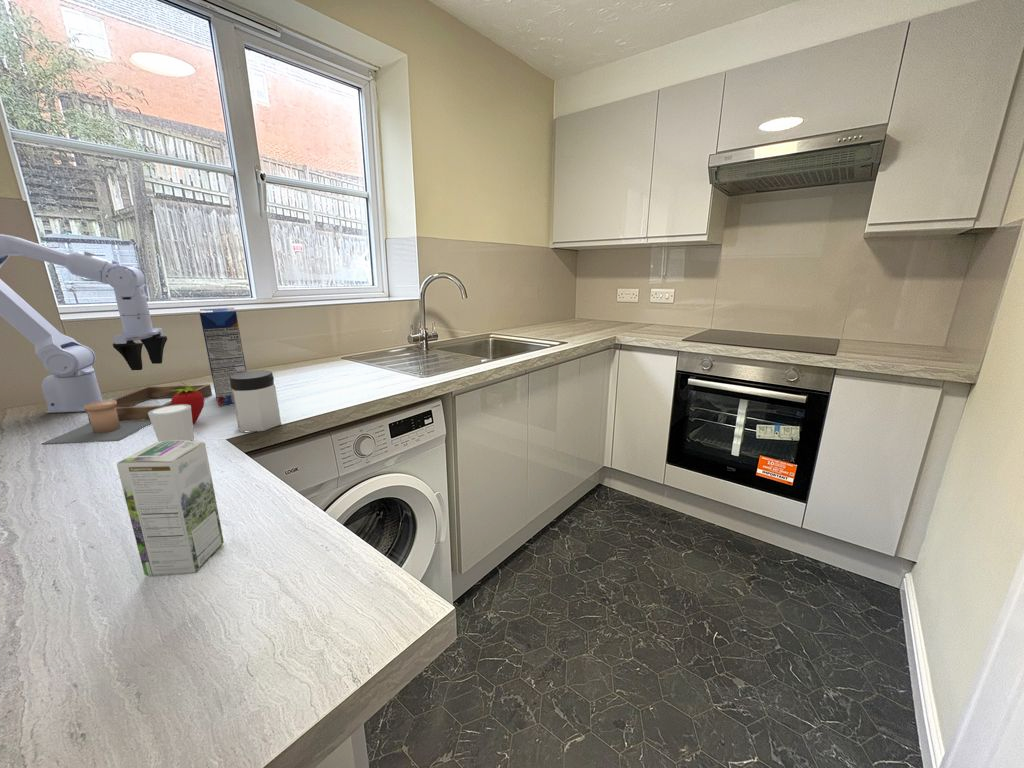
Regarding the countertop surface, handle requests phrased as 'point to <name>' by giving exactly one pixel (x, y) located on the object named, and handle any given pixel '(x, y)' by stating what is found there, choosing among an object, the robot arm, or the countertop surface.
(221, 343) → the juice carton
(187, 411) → the white tapered pot
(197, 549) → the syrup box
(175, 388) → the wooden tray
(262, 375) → the jar
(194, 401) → the strawberry
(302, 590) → the countertop surface
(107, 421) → the wooden drawer knob
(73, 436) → the slate mat
